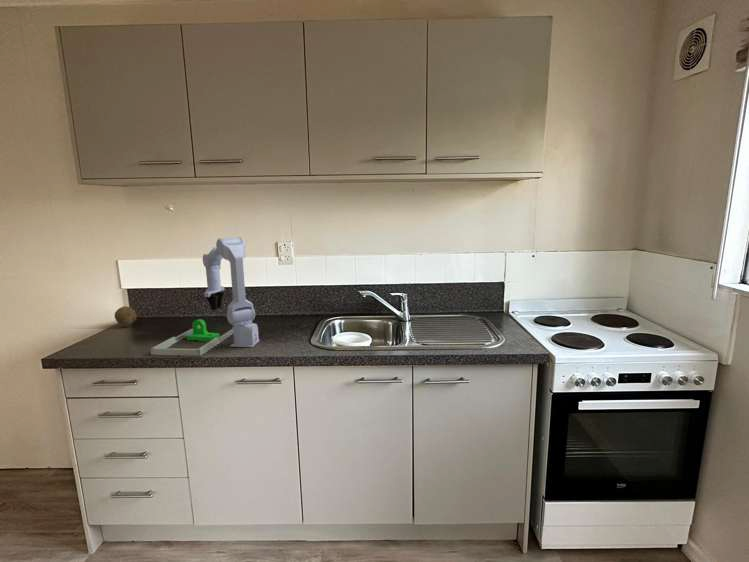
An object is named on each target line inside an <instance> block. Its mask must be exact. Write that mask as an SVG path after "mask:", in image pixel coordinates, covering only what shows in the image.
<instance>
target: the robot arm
mask: <svg viewBox="0 0 749 562" xmlns="http://www.w3.org/2000/svg"><path fill="white" fill-rule="evenodd" d="M246 254H247V249H246V243H245V240H244V239H243V237H241V236H240V237H227V238H218V239H217V240H216V245H215V246H213V247H212V249H211V250H210V251H209V253H208V254H207V253H205V254H203V255H202V263H203V267H204V268H205V275H206V283H207V284H206V285H207V289H205V292H203V294H204V297H205V299H206V300H207V301H208V303H209V307H210V308H211V311H217V310H218V309H221V308H222V303H223V299H224V296H225V285H224V286H223V285H221V283H222V282H221V274H220V272H221V271H220V270H221V262H222V260H226V261H228V262H229V266H230V280H231V293H232V301H231V302H230V303H229V304H228V305H227V308H226V309H227V311H226V318H227V321H228V323H229V324H230V325H232V329H233V334H232V335H233V342H232V343H231V344H230V345H229V347H231V348H232V347H233V348H234V347H235V348H253V347H254V346H256V344H258V343H259V342H260V341H261V340H260V339H259V337H260V336H259V327H258V324H257V323H253V321H254V320H255V317H256V311H255V308H254V304H253V303H252V302H251V301H249V300H248V299H247V298H246V284H245V272H244V270H245V269H244V259H245V258H247V255H246Z"/></svg>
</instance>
